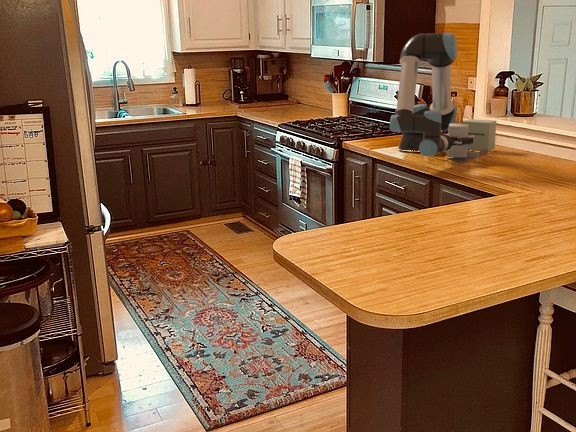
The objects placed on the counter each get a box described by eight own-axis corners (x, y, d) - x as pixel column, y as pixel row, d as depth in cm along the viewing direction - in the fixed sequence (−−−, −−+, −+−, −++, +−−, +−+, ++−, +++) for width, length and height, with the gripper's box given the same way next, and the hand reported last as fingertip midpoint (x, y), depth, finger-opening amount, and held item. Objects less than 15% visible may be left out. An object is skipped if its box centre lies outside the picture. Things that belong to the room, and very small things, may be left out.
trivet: (436, 159, 300) (436, 158, 300) (449, 154, 310) (449, 154, 310) (464, 162, 291) (464, 161, 291) (476, 157, 302) (476, 156, 302)
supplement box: (446, 157, 298) (448, 125, 294) (447, 153, 306) (449, 123, 302) (466, 157, 295) (468, 125, 291) (467, 154, 303) (468, 123, 299)
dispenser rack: (478, 158, 300) (479, 127, 296) (446, 155, 310) (447, 124, 306) (496, 150, 318) (498, 120, 314) (466, 147, 328) (467, 119, 324)
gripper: (417, 149, 293) (438, 142, 309) (465, 154, 279) (484, 146, 295) (417, 133, 291) (438, 127, 307) (466, 137, 276) (485, 130, 293)
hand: (461, 136), depth 301 cm, fingers closed on supplement box, 11 cm apart
